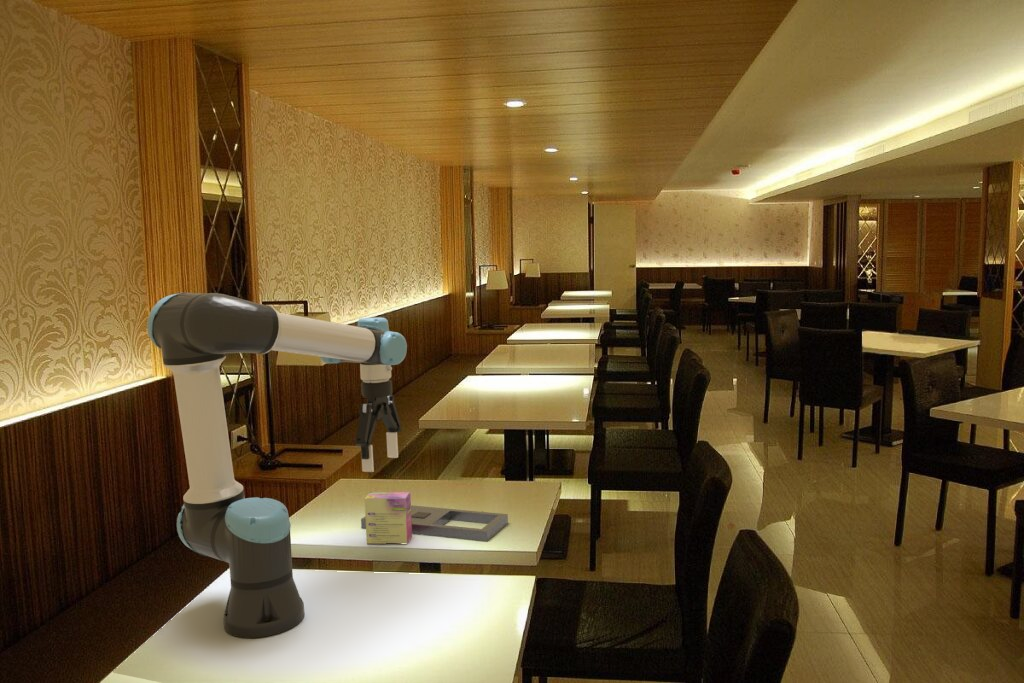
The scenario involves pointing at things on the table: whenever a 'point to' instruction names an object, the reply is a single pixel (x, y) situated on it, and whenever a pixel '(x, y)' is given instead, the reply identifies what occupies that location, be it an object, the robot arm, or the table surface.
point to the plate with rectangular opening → (435, 518)
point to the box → (388, 517)
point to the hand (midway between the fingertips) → (380, 464)
